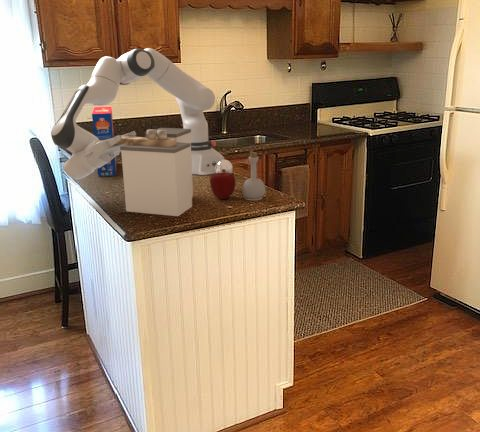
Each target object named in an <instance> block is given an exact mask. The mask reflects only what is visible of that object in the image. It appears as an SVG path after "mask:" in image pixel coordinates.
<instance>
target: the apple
mask: <svg viewBox="0 0 480 432" xmlns="http://www.w3.org/2000/svg"><path fill="white" fill-rule="evenodd" d="M209 184H210V185H209V186H210V189H211V192H212V193H213V195H214V196H215V197H216V199H219V200H227V199H229V198H230V197H231V196H232V195H233V194H234V191H235V188H236V178H235V175H234V174H233V173H227V172H222V173H213V174H211V177H210V181H209Z"/></svg>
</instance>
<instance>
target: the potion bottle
mask: <svg viewBox="0 0 480 432" xmlns="http://www.w3.org/2000/svg"><path fill="white" fill-rule="evenodd" d="M249 154H250V155H249V156H248V161H249V163H250V178H248V179H245V181H244V183H243V185H242V188H241V192H242V196H243V197H244V200H247V201H251V202H252V201H253V202H255V201H256V202H257V201H261V200H263V199H264V198H263V197H264V196H265V194H266V190H267V189H266V186H265V183H264V182H263V180H262V179H261V178H257V176H258V175H257V174H258V173H257V163H258V161H259V157H260V156H258V153H257V152H255V151H252V150H250V151H249Z"/></svg>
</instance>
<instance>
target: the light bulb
mask: <svg viewBox="0 0 480 432" xmlns="http://www.w3.org/2000/svg"><path fill="white" fill-rule="evenodd" d="M233 169H234V168H233V164H232V163H231V161H229V160H228V159H225V160H220V161H219V162H218V163H217V164H216V167H215V170H216V173H222V172H227V173H231V174H233ZM216 173H215V174H216Z"/></svg>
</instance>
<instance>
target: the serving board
mask: <svg viewBox="0 0 480 432" xmlns="http://www.w3.org/2000/svg"><path fill="white" fill-rule="evenodd" d="M155 129H156V128H154V129H146V132H147V137H146V136H144V137H142V136H134V137H126V136H121V135H120V136H121V137H122V140H121V141H119V142H117V143H115V144H124V145H143V146H163V147H171V146H174V145H176V139H170V138H167V130H157V137H156V130H155Z"/></svg>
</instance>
